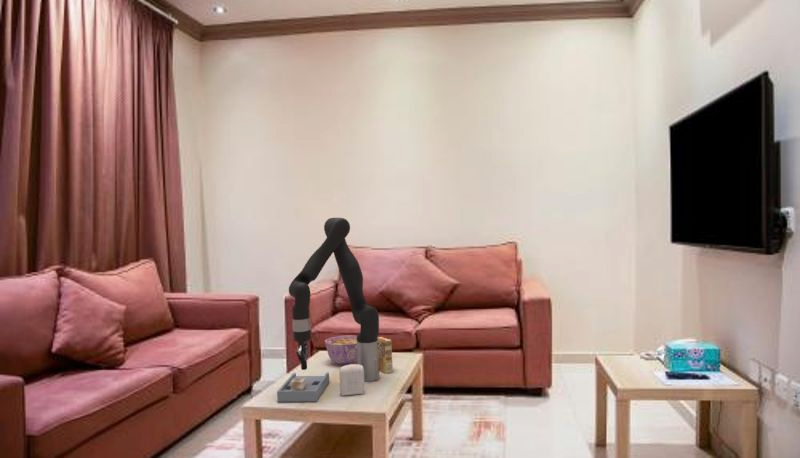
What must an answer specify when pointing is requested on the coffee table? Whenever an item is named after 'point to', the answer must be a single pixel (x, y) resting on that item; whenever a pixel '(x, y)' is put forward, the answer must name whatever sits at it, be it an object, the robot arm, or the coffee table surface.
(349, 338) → the bowl of food
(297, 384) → the cream cube
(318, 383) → the track
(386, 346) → the candy box
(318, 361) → the coffee table surface
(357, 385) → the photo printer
